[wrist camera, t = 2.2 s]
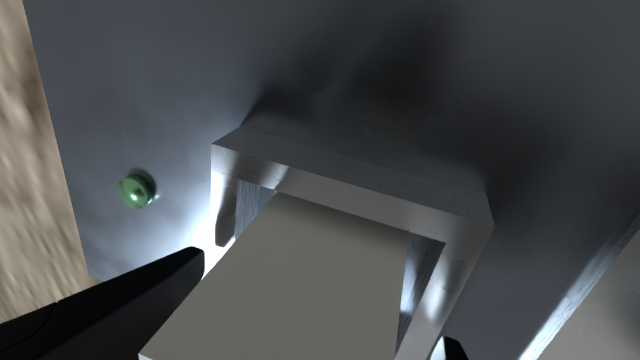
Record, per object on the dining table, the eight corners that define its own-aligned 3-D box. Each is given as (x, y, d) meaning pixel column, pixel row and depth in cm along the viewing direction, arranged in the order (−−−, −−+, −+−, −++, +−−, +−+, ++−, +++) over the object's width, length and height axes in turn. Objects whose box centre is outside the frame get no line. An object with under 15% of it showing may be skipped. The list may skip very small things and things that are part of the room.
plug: (409, 224, 10) (373, 535, 4) (376, 315, 12) (320, 613, 6) (282, 185, 11) (95, 403, 5) (270, 277, 12) (128, 511, 7)
